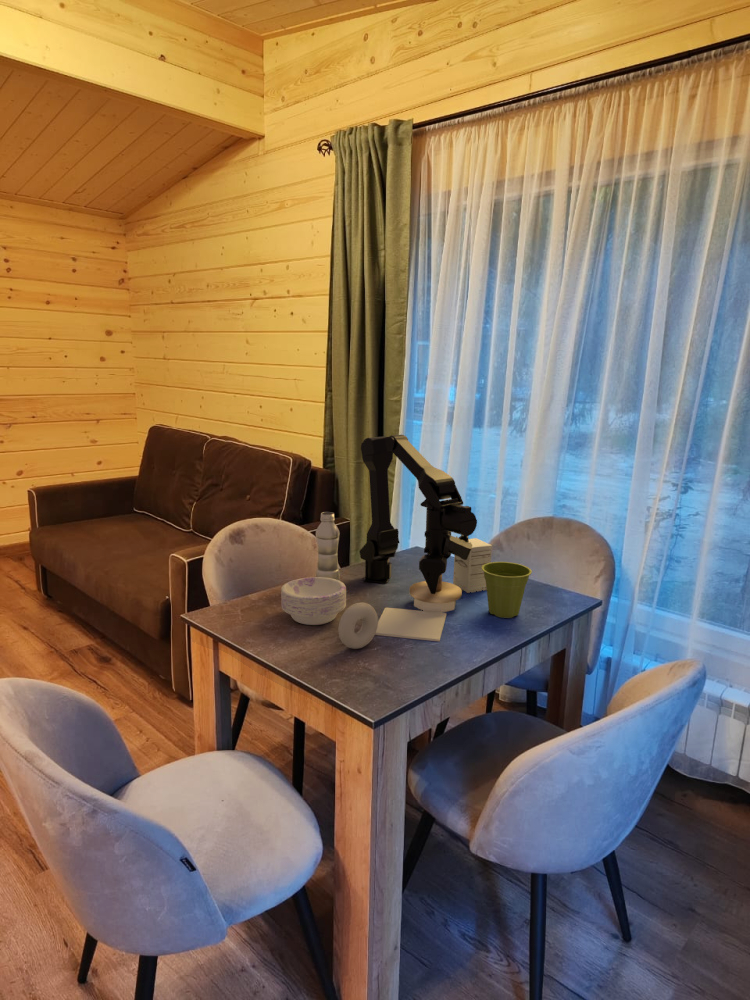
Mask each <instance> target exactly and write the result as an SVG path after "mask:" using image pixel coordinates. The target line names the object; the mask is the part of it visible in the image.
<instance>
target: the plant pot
mask: <svg viewBox="0 0 750 1000" xmlns="http://www.w3.org/2000/svg"><path fill="white" fill-rule="evenodd" d="M482 570H483V571H484V577H485V580H486V588H487V590H486V597H487V606H488V612H489V613H490V614H491V615H494V616H496V617H499V618H506V619H511V618H515V616H518V615H519V614H520V610H521V606H522V601H523V597H524V595H525V589H526V585H527V583H528V581H529V577H530V576H531V575H532V572H533V570H532V569H531V568H529V566H526V565H523V564H520V563H515V562H509V561H493V562H492V561H491V563H487V564H484V565H483V566H482Z"/></svg>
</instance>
